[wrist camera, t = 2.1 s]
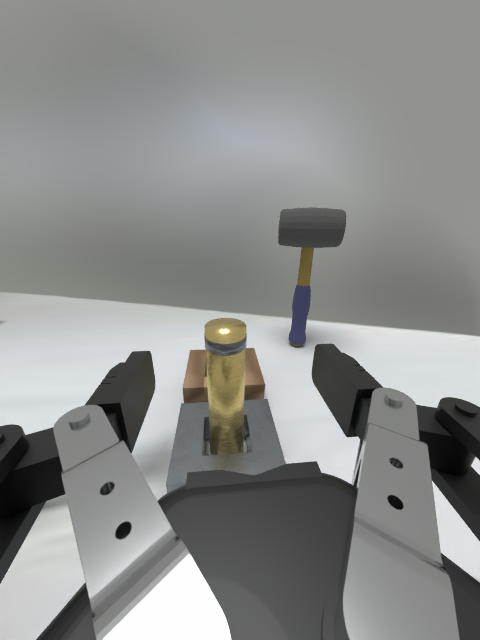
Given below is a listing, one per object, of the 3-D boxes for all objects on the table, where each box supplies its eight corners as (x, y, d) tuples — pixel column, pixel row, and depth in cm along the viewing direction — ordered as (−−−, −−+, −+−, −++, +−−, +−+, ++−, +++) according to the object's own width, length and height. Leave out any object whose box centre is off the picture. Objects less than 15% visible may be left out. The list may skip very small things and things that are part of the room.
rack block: (185, 414, 36) (182, 388, 34) (192, 372, 46) (190, 350, 45) (263, 410, 37) (264, 384, 36) (253, 370, 48) (254, 348, 46)
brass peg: (209, 474, 28) (203, 335, 21) (210, 444, 32) (205, 318, 25) (244, 471, 28) (249, 334, 21) (241, 441, 32) (244, 317, 25)
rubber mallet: (321, 340, 60) (342, 208, 49) (325, 355, 53) (351, 206, 42) (271, 335, 62) (280, 208, 51) (269, 349, 55) (279, 206, 44)
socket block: (170, 510, 24) (166, 484, 23) (183, 425, 34) (181, 403, 33) (285, 499, 25) (288, 474, 24) (265, 420, 36) (267, 398, 34)
